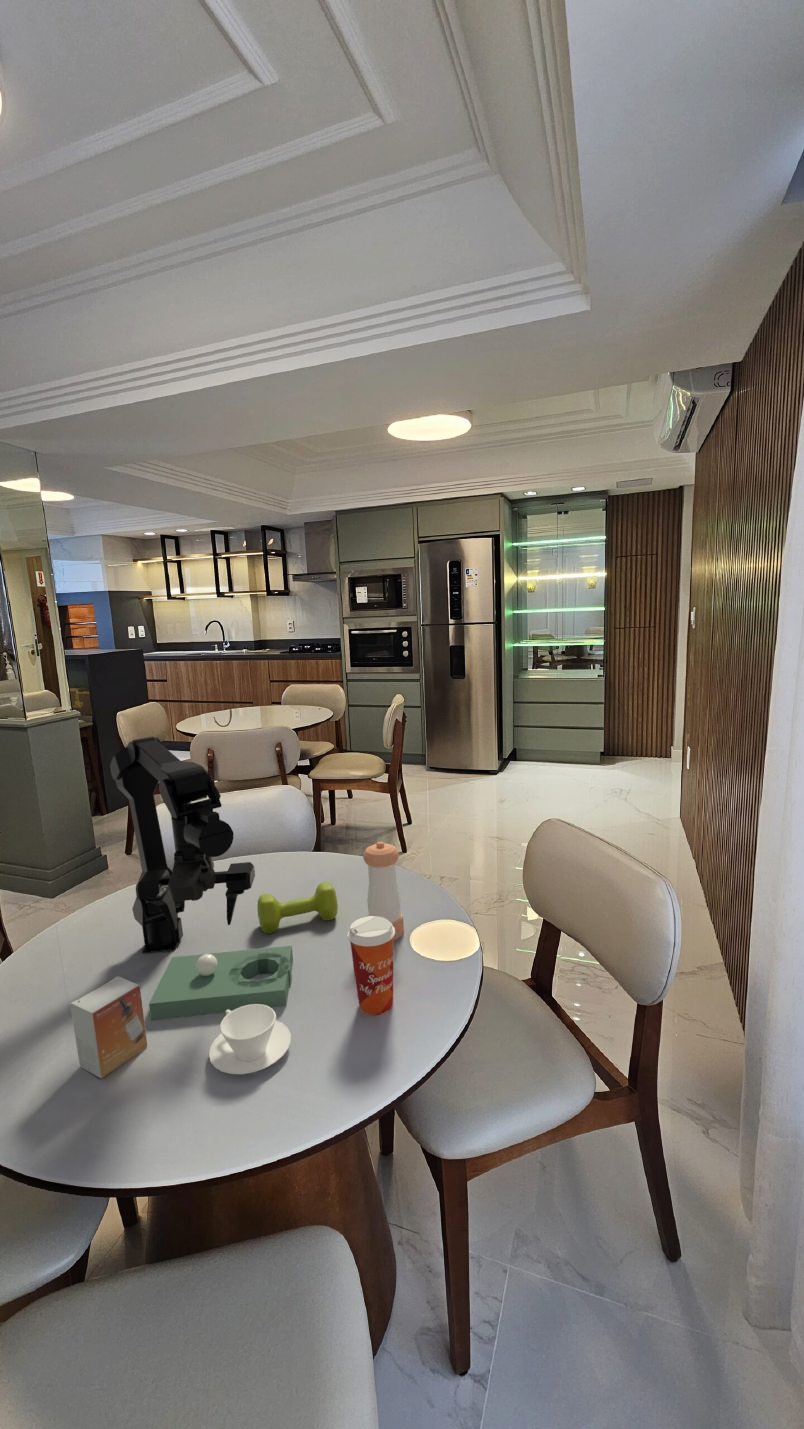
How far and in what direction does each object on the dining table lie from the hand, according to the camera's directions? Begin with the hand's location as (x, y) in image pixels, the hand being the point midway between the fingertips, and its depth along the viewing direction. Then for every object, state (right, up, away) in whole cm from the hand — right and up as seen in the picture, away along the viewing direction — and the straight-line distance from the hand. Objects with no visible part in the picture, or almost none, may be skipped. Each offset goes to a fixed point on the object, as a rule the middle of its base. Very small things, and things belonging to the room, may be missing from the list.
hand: (202, 926), depth 109 cm
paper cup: (+30, -12, -5) cm, 33 cm away
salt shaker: (+31, -8, +18) cm, 37 cm away
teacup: (+12, -14, -14) cm, 23 cm away
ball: (0, -7, +1) cm, 7 cm away
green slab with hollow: (+4, -12, +2) cm, 12 cm away
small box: (-9, -15, -14) cm, 22 cm away
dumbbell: (+13, -8, +25) cm, 29 cm away
